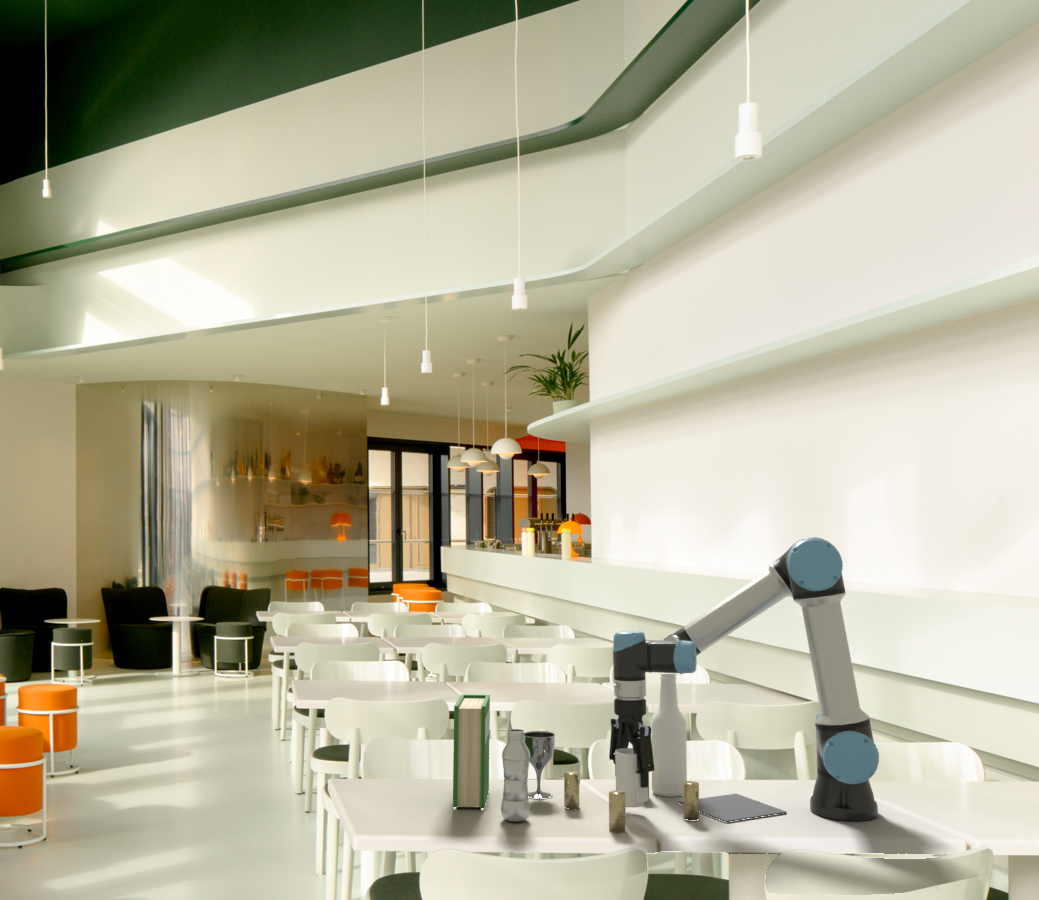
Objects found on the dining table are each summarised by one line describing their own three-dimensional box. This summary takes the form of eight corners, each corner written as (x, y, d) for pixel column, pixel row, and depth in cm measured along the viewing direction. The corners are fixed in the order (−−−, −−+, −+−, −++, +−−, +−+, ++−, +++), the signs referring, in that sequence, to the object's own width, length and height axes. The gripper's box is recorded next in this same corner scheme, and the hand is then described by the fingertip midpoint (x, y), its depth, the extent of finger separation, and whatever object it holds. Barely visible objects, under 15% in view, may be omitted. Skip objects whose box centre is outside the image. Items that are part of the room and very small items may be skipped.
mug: (644, 808, 216) (643, 754, 218) (615, 807, 218) (614, 753, 219) (646, 797, 226) (645, 745, 228) (617, 796, 227) (617, 744, 229)
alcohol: (647, 795, 237) (647, 673, 240) (656, 787, 245) (655, 669, 248) (682, 799, 234) (681, 675, 237) (690, 791, 242) (689, 671, 245)
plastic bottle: (515, 815, 219) (515, 726, 221) (536, 821, 214) (536, 730, 216) (494, 820, 215) (495, 730, 217) (515, 826, 210) (516, 734, 212)
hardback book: (484, 810, 223) (485, 706, 225) (452, 810, 223) (454, 706, 225) (488, 791, 240) (489, 694, 242) (459, 791, 240) (460, 694, 243)
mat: (786, 813, 222) (786, 811, 222) (725, 823, 214) (725, 821, 214) (736, 795, 238) (736, 793, 238) (677, 803, 230) (677, 801, 230)
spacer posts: (702, 820, 216) (702, 784, 217) (614, 833, 206) (614, 795, 206) (643, 795, 237) (643, 762, 238) (561, 806, 226) (561, 772, 227)
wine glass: (517, 797, 234) (518, 735, 236) (529, 790, 242) (530, 730, 243) (548, 801, 231) (548, 738, 233) (559, 793, 239) (559, 732, 240)
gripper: (593, 693, 232) (594, 789, 229) (641, 705, 213) (643, 809, 211) (619, 690, 235) (620, 785, 233) (669, 702, 216) (671, 805, 214)
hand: (631, 796), depth 222 cm, fingers closed on mug, 8 cm apart
